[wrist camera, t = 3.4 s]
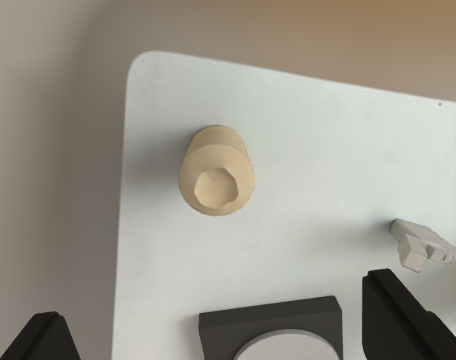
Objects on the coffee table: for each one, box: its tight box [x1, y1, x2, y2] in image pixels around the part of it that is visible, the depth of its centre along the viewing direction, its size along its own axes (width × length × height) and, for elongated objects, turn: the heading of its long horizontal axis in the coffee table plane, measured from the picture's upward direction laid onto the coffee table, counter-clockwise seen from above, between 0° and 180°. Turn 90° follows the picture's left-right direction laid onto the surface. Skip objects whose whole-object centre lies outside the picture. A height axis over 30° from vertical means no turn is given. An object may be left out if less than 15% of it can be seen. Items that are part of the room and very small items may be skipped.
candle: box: [178, 125, 255, 216], centre depth 26 cm, size 6×6×10 cm
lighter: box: [389, 219, 456, 272], centre depth 30 cm, size 7×2×8 cm, turn 74°
